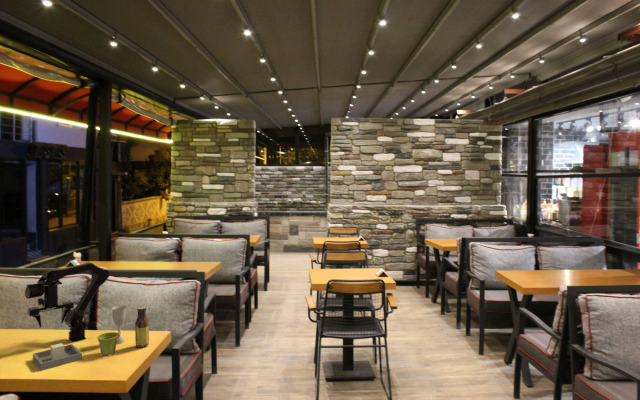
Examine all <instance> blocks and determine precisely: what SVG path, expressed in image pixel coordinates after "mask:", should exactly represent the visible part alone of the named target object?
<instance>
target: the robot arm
mask: <svg viewBox="0 0 640 400" xmlns="http://www.w3.org/2000/svg"><path fill="white" fill-rule="evenodd" d="M83 272H88V273H90V274H91V280H90V283H89V285H88V286H87V288H86V290H85V291H84V292H83V295H82V297H81V298H80V300H79V302H78V303H77V305H76V306H74V305H75V303H74V302H72V301H70V300H69V301H63V302H62V303H61V304H59V295H58V294H59V287H58V285H59V286H60V285H62V284H63V282H62V281H61V280H62V279H63V278H65V277H67V276H71V275H72V276H73V275H75V274H79V273H80V274H81V273H83ZM109 278H110V272H109V270H107V269H103V268H101V267H99V266H97V265H96V264H94V263H93V262H85V263H81V264H77V265H71V266H66V267H63V268H46V269H45V270H44V271H43V272H42V274H41V277H40V278H39V279H38V280H37V282H36V283H29V284H26V287H25V290H24V295H25V298H26V300H28V299H29V300H30V299H34V298H38V299H37V305H38V306H41V307H38V306H34V307H29V308H27V315H28V316H30V317H32V318H35V320H36V322H37V324H38V326H39V328H42V319H41V314H40V313H42V312H48V311H54V310H58V309H59V310H60V309H61V319H60V324H63V323H64V324H65V325H67V327H68V328H69V331H68V340H69V341H70V342H71V343H75V342H79V341H80V342H81V341H84V340H86V339H87V337H86V328H87V325H88V324H87V323H86V322H84V321H83V320H84V317H85V311H86V309H87V308H88V306H89V305H90V303H91V301H92V300H93V297H94V296H95V294H96V292H98V290H99V288H100V286H102V285H103V284H105V283H106V282H107V280H108V279H109ZM42 296H43V297H42Z"/></svg>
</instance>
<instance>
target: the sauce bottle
mask: <svg viewBox="0 0 640 400" xmlns="http://www.w3.org/2000/svg"><path fill="white" fill-rule="evenodd" d="M136 310H137V318H136V321H135V323H134V330H135V332H134V336H135V337H134V338H135V341H134V342H135V346H136V348H137V347H138V348H139V349H143V348H142V347H144V348H146V347H148V346H149V345H150V344H149V343H150V325H149V318H148V317H147V313H146V312H147V307H146V306H139V307H137V308H136Z"/></svg>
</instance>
